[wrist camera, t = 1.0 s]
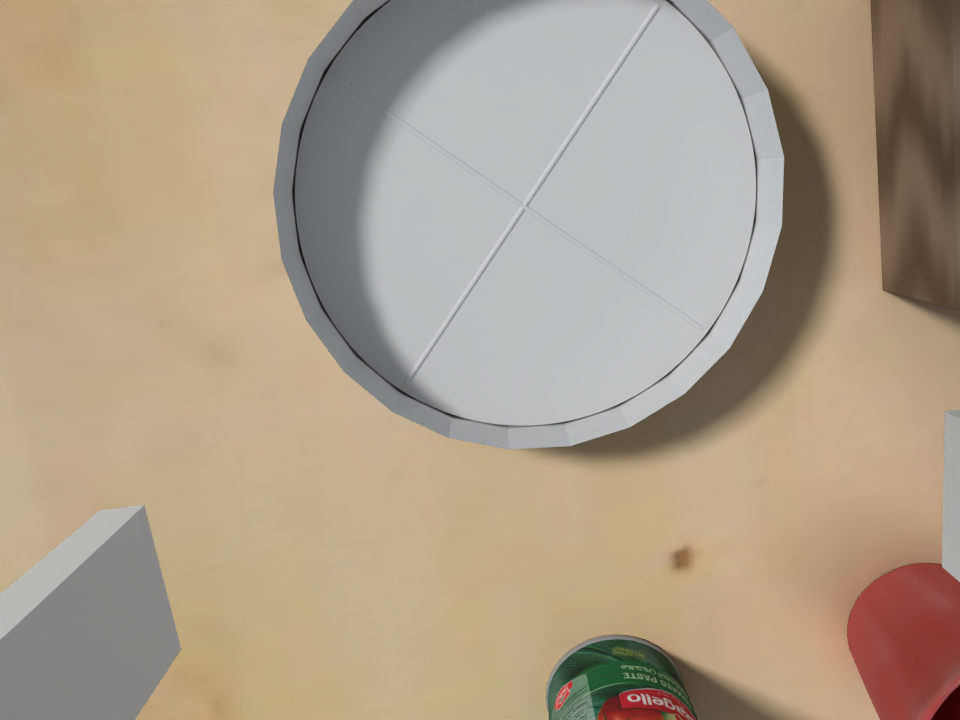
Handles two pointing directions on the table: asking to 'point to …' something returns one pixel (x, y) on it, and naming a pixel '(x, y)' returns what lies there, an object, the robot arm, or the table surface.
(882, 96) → the walnut base
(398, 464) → the table surface
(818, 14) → the table surface
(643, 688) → the canned tomato
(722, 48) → the dish
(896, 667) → the flower pot
